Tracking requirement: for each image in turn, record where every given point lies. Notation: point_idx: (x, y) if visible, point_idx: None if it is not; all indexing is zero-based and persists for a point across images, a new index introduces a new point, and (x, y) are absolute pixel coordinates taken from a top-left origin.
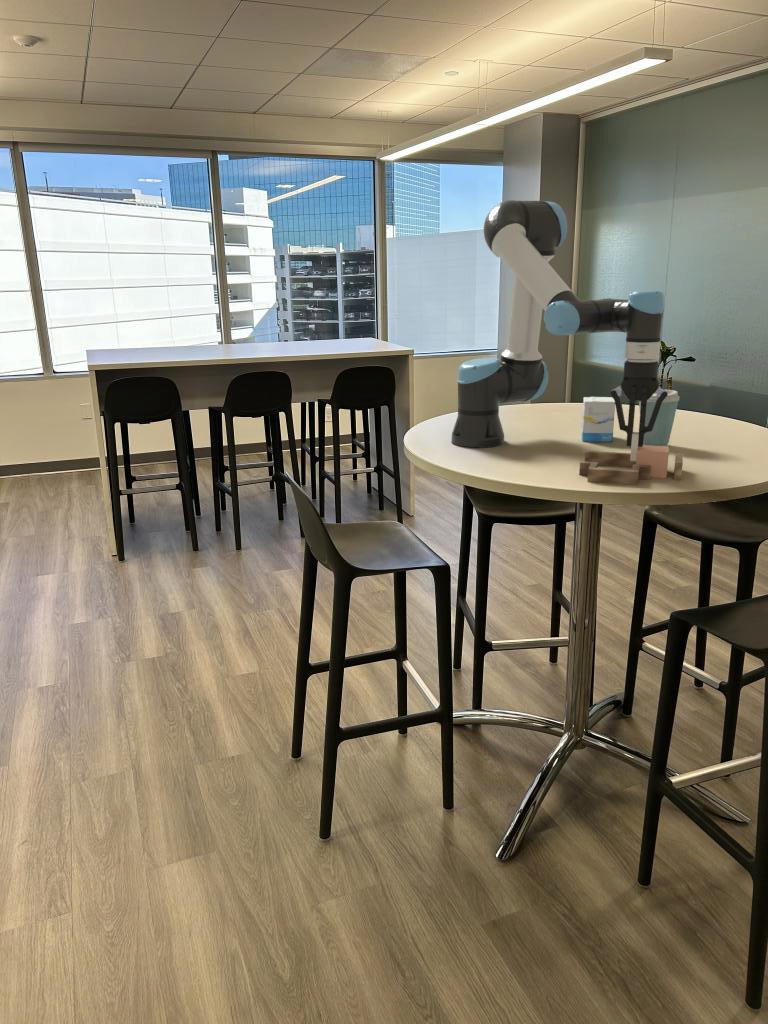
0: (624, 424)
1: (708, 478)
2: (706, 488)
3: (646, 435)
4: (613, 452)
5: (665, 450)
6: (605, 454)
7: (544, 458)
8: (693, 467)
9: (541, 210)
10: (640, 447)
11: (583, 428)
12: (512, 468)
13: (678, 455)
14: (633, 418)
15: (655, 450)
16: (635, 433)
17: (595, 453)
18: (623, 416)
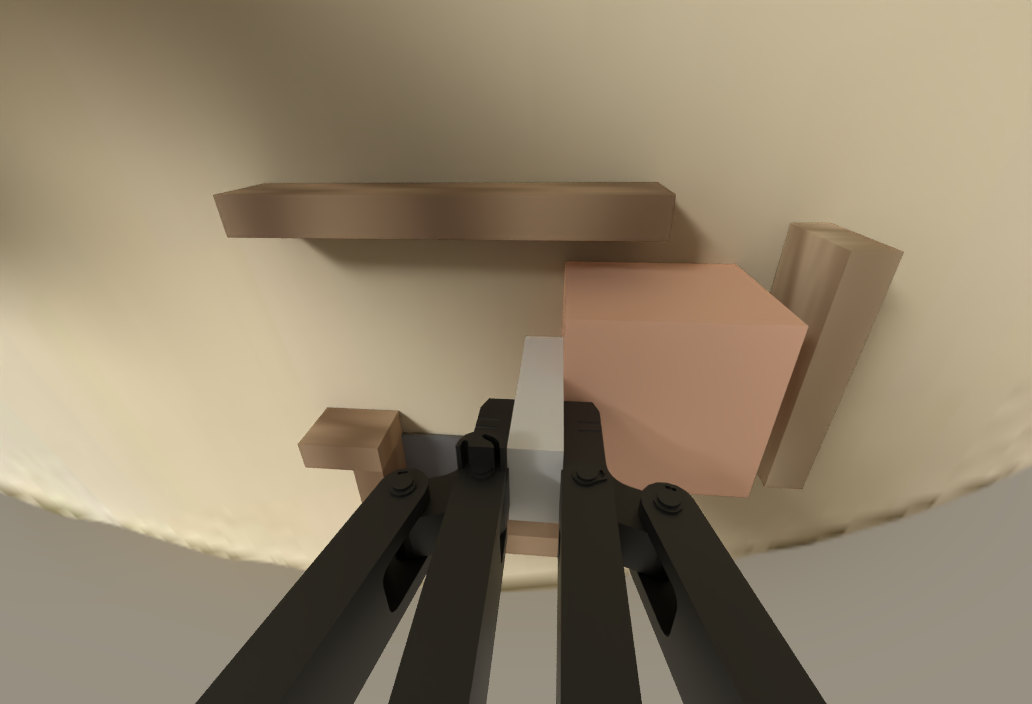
0: (420, 571)
1: (921, 375)
2: (835, 513)
3: None
4: (397, 200)
5: (742, 445)
6: (358, 237)
7: (17, 142)
8: (952, 128)
9: None
10: (580, 395)
11: None
12: (52, 386)
13: (845, 321)
14: (489, 656)
15: (674, 455)
16: (533, 499)
17: (294, 237)
18: (369, 619)
